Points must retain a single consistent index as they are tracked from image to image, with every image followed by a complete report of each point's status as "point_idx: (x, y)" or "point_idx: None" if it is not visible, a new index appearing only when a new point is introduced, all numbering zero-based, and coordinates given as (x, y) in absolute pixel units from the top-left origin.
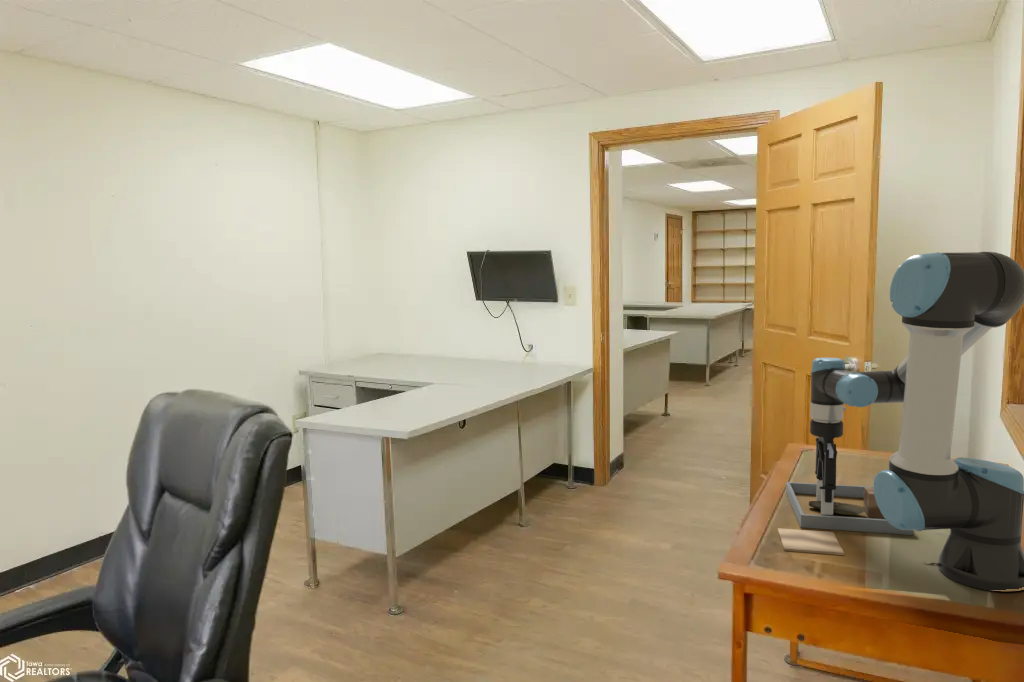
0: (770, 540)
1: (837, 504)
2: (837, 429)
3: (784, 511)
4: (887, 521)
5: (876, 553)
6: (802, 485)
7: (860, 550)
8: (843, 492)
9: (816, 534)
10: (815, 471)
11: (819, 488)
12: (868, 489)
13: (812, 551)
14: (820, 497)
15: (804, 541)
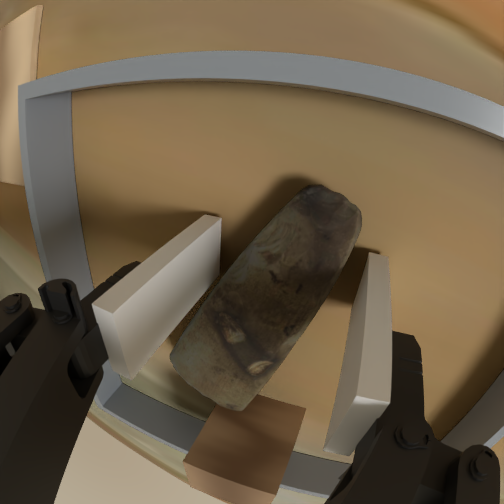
0: (4, 7)
1: (233, 336)
2: None
3: (256, 6)
4: None
5: (5, 247)
6: None
7: (2, 220)
8: (471, 427)
9: (15, 130)
10: (479, 475)
11: (356, 348)
12: (240, 488)
13: None
14: (360, 304)
15: None
